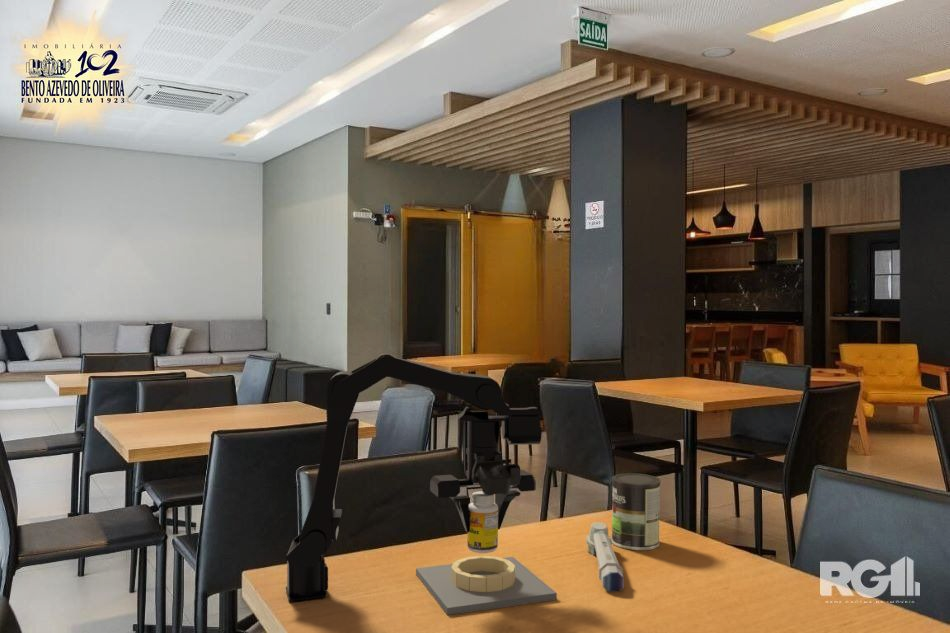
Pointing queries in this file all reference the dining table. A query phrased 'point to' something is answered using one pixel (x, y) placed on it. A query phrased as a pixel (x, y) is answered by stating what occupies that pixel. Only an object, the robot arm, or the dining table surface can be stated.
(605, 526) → the grey blue-tipped handheld tool
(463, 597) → the grey board with ring
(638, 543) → the coffee can
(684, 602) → the dining table surface
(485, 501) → the supplement bottle
